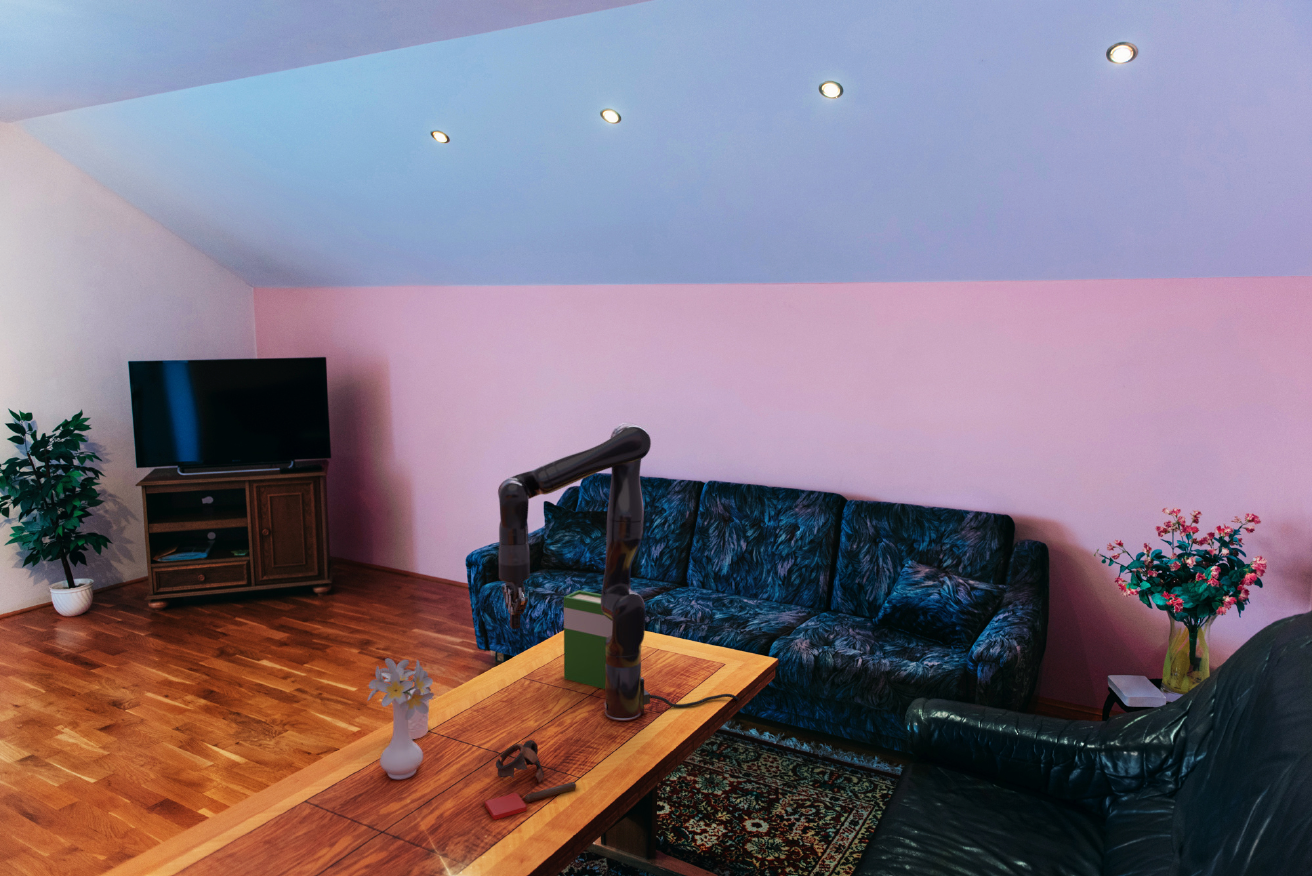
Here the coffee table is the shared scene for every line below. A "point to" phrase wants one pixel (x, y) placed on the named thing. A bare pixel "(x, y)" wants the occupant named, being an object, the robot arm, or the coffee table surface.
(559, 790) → the spatula
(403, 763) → the flower vase
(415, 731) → the white cup
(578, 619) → the hardback book
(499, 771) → the dark brown curved piece
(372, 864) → the coffee table surface
